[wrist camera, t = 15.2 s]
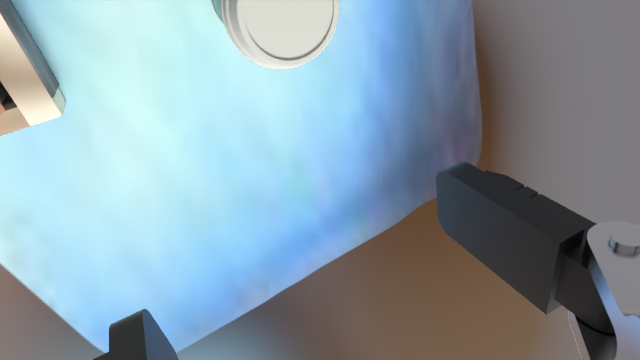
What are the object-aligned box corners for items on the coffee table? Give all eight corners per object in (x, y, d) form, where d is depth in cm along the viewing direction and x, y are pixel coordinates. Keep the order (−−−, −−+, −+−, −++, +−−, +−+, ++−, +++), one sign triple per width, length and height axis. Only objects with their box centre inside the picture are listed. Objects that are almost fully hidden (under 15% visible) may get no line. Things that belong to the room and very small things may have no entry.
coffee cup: (303, 8, 40) (365, 24, 30) (236, 64, 39) (278, 98, 30) (250, -79, 34) (305, -94, 25) (173, -16, 34) (199, -6, 25)
